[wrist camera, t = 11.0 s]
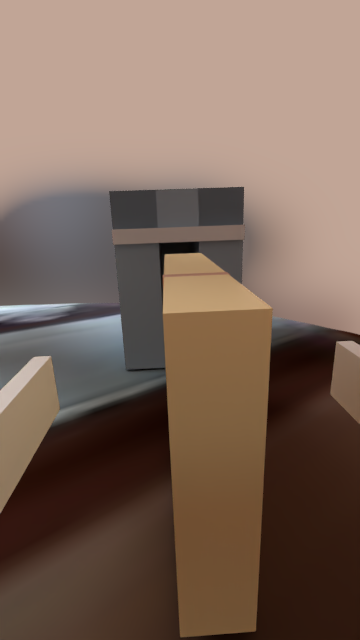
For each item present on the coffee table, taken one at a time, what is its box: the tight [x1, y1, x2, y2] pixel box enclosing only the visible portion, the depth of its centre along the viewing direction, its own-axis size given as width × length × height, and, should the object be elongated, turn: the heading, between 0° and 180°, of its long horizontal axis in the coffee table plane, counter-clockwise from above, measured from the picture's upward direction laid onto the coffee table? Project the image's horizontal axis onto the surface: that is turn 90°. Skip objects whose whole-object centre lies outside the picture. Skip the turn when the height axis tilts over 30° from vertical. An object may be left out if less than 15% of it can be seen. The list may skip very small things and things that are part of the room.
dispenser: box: [109, 187, 245, 370], centre depth 34 cm, size 13×11×16 cm
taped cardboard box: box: [163, 253, 273, 637], centre depth 16 cm, size 15×3×11 cm, turn 3°
